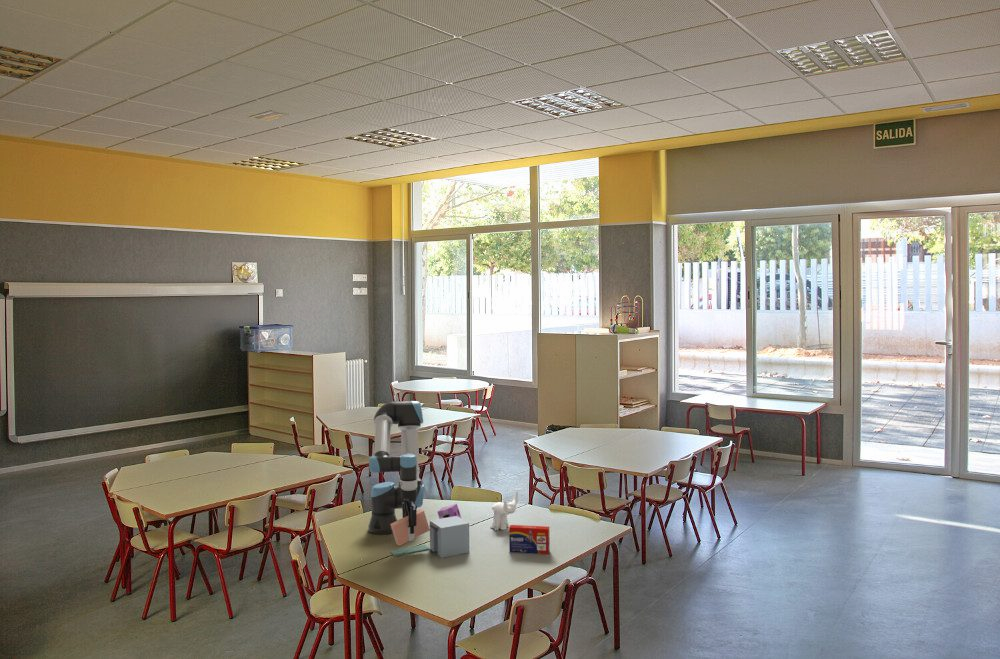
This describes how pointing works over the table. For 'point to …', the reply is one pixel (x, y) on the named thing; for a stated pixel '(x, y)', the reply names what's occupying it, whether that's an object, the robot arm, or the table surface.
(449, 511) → the toy
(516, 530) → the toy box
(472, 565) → the table surface
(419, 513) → the long salmon pink block
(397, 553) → the mat
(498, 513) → the toy animal
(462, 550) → the pale blue cube
